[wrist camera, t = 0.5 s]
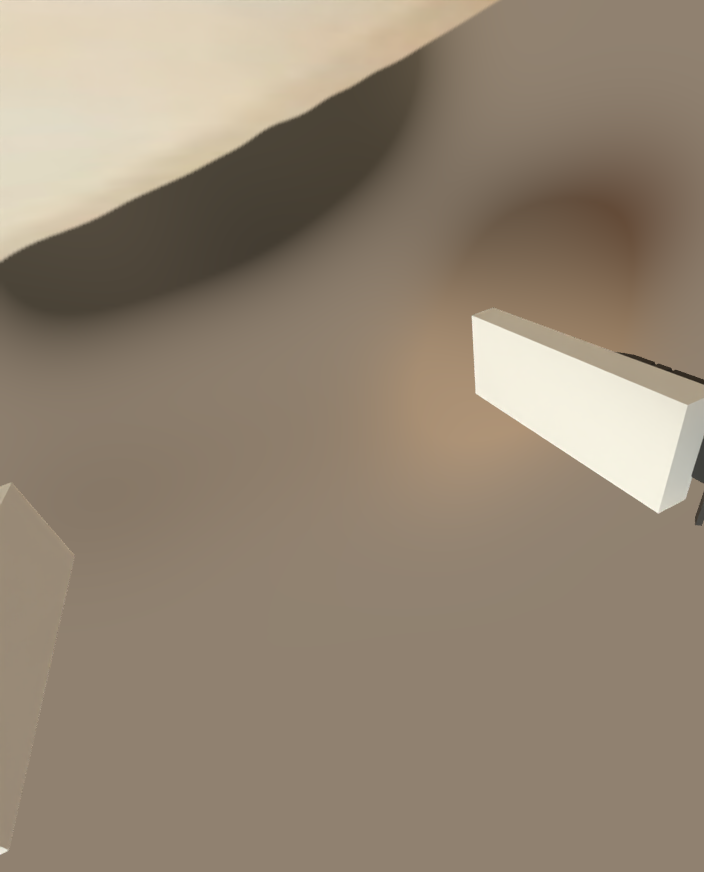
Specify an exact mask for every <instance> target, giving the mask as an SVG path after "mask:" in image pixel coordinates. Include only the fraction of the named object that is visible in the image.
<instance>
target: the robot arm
mask: <svg viewBox="0 0 704 872" xmlns="http://www.w3.org/2000/svg"><path fill="white" fill-rule="evenodd" d="M472 328H473V348H474V368H475V387H476V394H478V395H479V396H481V397H482V398H483V399H485V400H487V401H488V402H490V403H491V404H493V405H494V406H496V407H497V408H499V409H500V410H502V411H503V412H505V413H506V414H508V415H509V416H511V417H512V418H514V419H515V420H517V421H518V422H520V423H522V424H523V425H525V426H526V427H528V428H529V429H531V430H532V431H534V432H535V433H537V434H538V435H540V436H541V437H543V438H544V439H546V440H548V441H549V442H551V443H552V444H554V445H555V446H557V447H558V448H560V449H561V450H563V451H564V452H566V453H567V454H569V455H570V456H572V457H573V458H575V459H577V460H578V461H579V462H581V463H582V464H584V465H585V466H587V467H589V468H590V469H592V470H593V471H595V472H596V473H598V474H599V475H601V476H602V477H604V478H605V479H607V480H608V481H610V482H612V483H613V484H614V485H616V486H617V487H619V488H620V489H622V490H624V491H625V492H627V493H628V494H630V495H631V496H633V497H634V498H636V499H637V500H639V501H640V502H642V503H644V504H645V505H646V506H648V507H649V508H651V509H653V510H654V511H656V512H657V513H660V512H662V511H664V510H666V509H668V508H669V507H671V506H673V505H675V504H677V503H679V502H681V501H683V500H685V499H686V495H687V492H688V489H689V486H690V482H691V479H692V477H693V478H695V479H696V480H699V481H700V482H702V483H704V380H703V379H700V378H697V377H695V376H692V375H689V374H686V373H684V372H681V371H678V370H674V371H672V369H671V368H670V367H666V366H664V365H661V364H657V365H656V364H655V362H653V361H650V360H647V359H644V358H642V357H639V356H636V355H631V354H625V353H619V352H613V351H610V350H607V349H605V348H602V347H599V346H596V345H594V344H591V343H588V342H586V341H583V340H580V339H577V338H575V337H572V336H569V335H567V334H564V333H561V332H558V331H556V330H553V329H550V328H547V327H545V326H542V325H539V324H537V323H534V322H531V321H528V320H526V319H523V318H520V317H517V316H515V315H512V314H509V313H506V312H504V311H501V310H498V309H495V308H491V309H488V310H485V311H483V312H480V313H477V314H474V315H472ZM703 520H704V493H703V496H702V499H701V502H700V505H699V508H698V511H697V513H696V516H695V525H701V526H702V523H703ZM74 558H75V555H74V554H73V553H72V552H71V551H70V549H68V547H67V546H66V545H65V544H64V542H63V541H61V539H60V538H59V537H58V536H57V534H56V533H55V532H54V531H53V530H52V528H51V527H50V526H49V525H48V524H47V523H46V522H45V520H44V519H43V518H42V517H41V516H40V515H39V513H38V512H37V511H36V510H35V509H34V508H33V506H31V504H30V503H29V502H28V501H27V500H26V498H25V497H24V496H23V495H22V494H21V493H20V491H19V490H18V489H17V488H16V487H15V486H14V484H13V483H9V484H6V485H3V486H0V854H2V853H4V852H6V851H8V850H9V847H10V843H11V838H12V834H13V829H14V825H15V820H16V816H17V811H18V807H19V802H20V798H21V794H22V789H23V784H24V780H25V776H26V772H27V767H28V763H29V758H30V753H31V749H32V745H33V740H34V736H35V731H36V727H37V723H38V718H39V713H40V709H41V705H42V700H43V696H44V691H45V686H46V683H47V678H48V673H49V669H50V665H51V660H52V655H53V651H54V647H55V642H56V638H57V633H58V629H59V624H60V620H61V616H62V611H63V607H64V602H65V598H66V593H67V589H68V585H69V580H70V575H71V571H72V567H73V562H74Z"/></svg>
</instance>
